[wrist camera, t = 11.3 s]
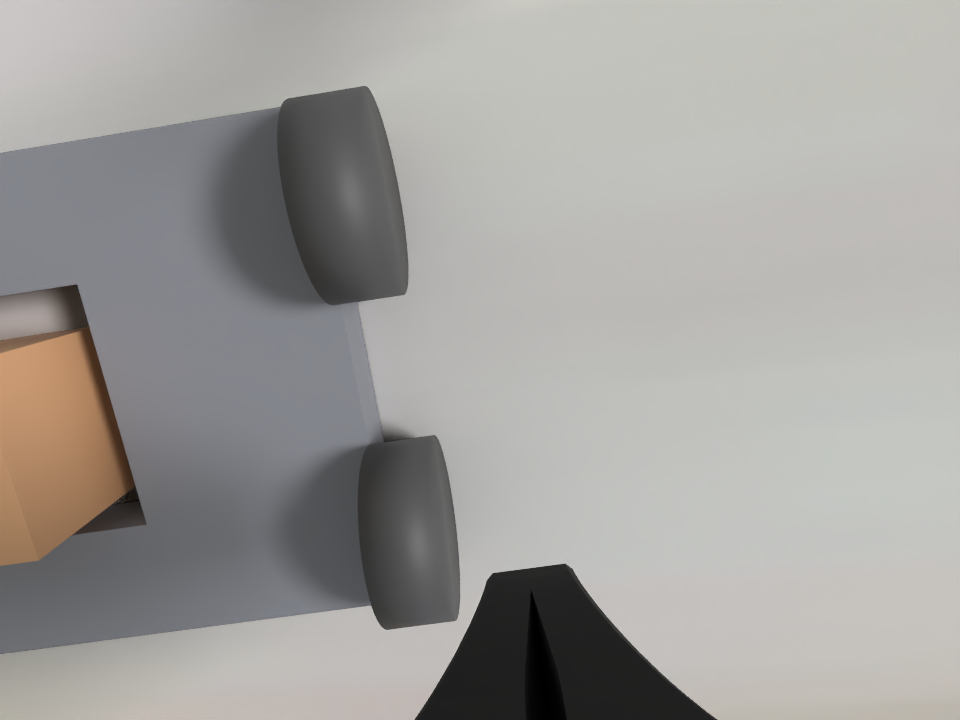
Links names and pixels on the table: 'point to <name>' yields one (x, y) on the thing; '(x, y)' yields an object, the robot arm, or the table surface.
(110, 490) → the block
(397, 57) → the table surface
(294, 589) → the chassis
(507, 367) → the table surface
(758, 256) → the table surface
